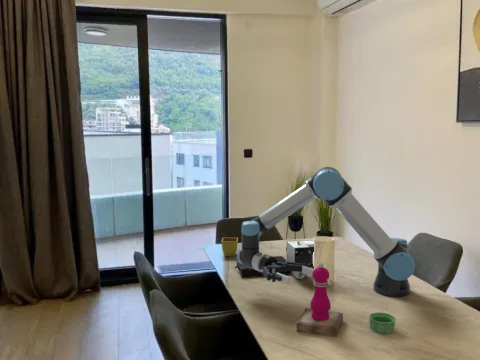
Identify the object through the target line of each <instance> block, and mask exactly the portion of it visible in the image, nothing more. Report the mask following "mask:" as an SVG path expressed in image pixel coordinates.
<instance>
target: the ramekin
mask: <svg viewBox="0 0 480 360" xmlns="http://www.w3.org/2000/svg"><path fill="white" fill-rule="evenodd" d="M368 318H369V327H370V329H371V330H372V332H375V333H377V334H382V335H383V334H384V335H388V334H391V333H393V332H394V330H395V324H396V320H397V319H396V317H395V315H393V314H390V313H386V312H382V311H381V312H380V311H379V312H372V313H370V314H369V315H368Z"/></svg>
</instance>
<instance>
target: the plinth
mask: <svg viewBox="0 0 480 360" xmlns="http://www.w3.org/2000/svg"><path fill="white" fill-rule="evenodd" d="M312 311H313V310H312V309H311V308H309V307H308V308H307V307H305V309H304V310H303V311H302V313H301V315H300V317H299V318H298V320H297V321H296V332H301V333H308V334H314V335H319V336H320V335H321V336H327V337H333V338H337V337H338V334H339V332H340V329H341V327H342V324H343V321H344V313H343V312H338V311H337V312H336V311H330V310H329V311H328V312H329V319H328V320H324V321H318V320H315V319H313V318H312Z"/></svg>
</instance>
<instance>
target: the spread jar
mask: <svg viewBox="0 0 480 360" xmlns="http://www.w3.org/2000/svg"><path fill="white" fill-rule="evenodd" d="M303 242H304V243H307V244H309V247H310V253H312V264H310V268H311V267H314V266H313V252H314V242H315V241H312V240H305V241H303Z"/></svg>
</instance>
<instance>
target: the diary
mask: <svg viewBox="0 0 480 360" xmlns="http://www.w3.org/2000/svg"><path fill="white" fill-rule="evenodd" d="M273 257H275V258H276V259H277V261H278V262H281V263H284V261H287V258H285V257H284V256H283V255H275V256H273ZM234 260H235V261H236V266H234V268H235V269H236V268H238V270H239V271H240V272H239V273H240V274H241V275H240V277H241V278H250V277H265V276H264V275H263V274H262V273H261V272H260V271H257V270H255V269H252V268H249V267H246V266H244V265H242V264H240V263H239V262H238V260H237V257H235V258H234ZM284 270H285V267H284ZM276 273H277V272H275V274H276ZM278 273H280V274H282V275H293V274H292V272H291V271H287V272H278Z"/></svg>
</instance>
